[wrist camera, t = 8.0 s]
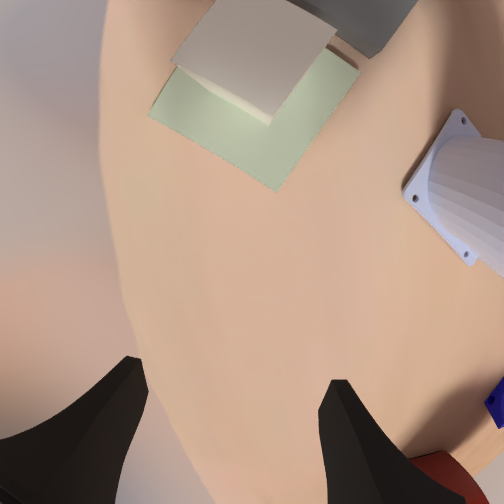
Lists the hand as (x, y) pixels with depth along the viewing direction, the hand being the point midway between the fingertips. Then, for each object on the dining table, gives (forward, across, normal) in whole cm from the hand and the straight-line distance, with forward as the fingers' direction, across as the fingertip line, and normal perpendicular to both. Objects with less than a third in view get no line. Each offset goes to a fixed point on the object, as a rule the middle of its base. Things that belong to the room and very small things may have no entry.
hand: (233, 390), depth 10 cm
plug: (+9, 0, -12) cm, 15 cm away
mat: (+10, +1, -12) cm, 15 cm away
